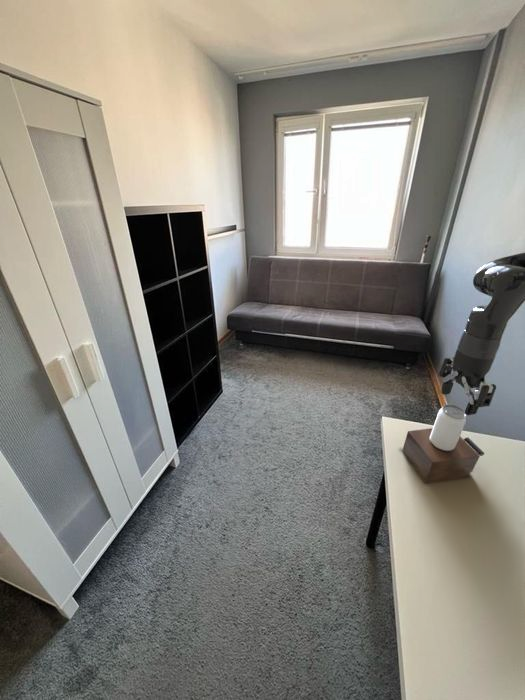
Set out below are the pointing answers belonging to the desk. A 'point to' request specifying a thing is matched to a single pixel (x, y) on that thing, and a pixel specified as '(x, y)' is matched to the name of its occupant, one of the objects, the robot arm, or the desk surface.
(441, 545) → the desk surface
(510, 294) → the robot arm
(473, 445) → the drawer
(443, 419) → the can
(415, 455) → the cabinet
